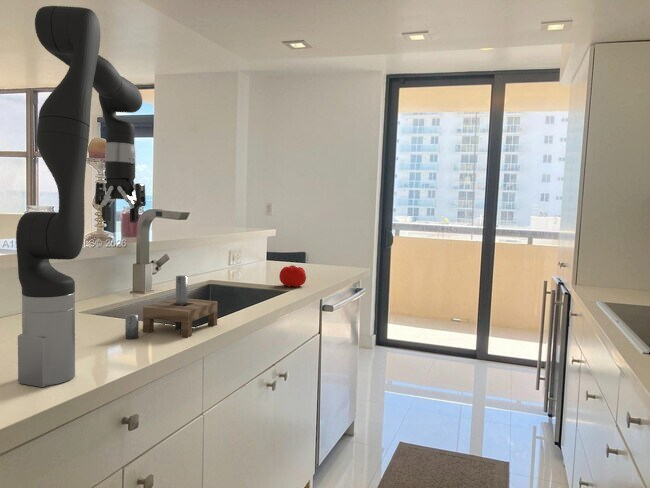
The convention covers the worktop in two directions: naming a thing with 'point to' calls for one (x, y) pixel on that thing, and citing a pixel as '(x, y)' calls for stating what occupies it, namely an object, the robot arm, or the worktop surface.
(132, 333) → the short pin
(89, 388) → the worktop surface
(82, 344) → the worktop surface
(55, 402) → the worktop surface
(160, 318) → the wooden square-hole block
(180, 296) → the long pin
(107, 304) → the worktop surface
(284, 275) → the tomato
